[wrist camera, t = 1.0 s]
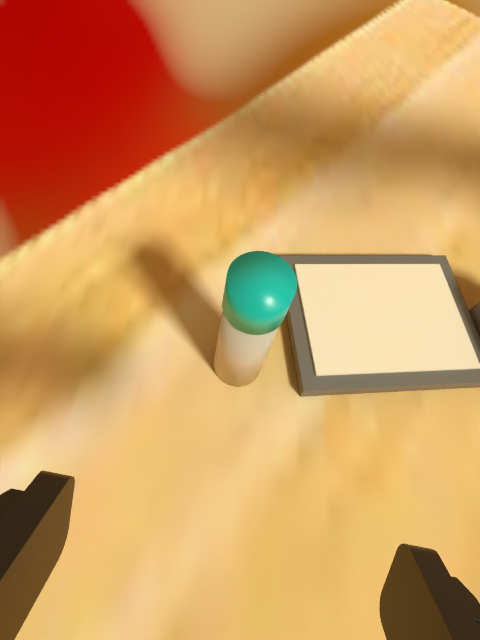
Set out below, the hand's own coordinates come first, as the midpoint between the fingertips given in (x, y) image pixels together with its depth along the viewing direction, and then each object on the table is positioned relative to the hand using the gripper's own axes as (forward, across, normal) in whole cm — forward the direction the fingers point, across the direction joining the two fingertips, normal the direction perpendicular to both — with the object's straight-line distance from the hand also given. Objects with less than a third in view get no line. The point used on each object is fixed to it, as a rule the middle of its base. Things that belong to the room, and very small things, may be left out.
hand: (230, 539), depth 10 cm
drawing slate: (+23, -10, -2) cm, 25 cm away
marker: (+19, 0, +2) cm, 19 cm away
